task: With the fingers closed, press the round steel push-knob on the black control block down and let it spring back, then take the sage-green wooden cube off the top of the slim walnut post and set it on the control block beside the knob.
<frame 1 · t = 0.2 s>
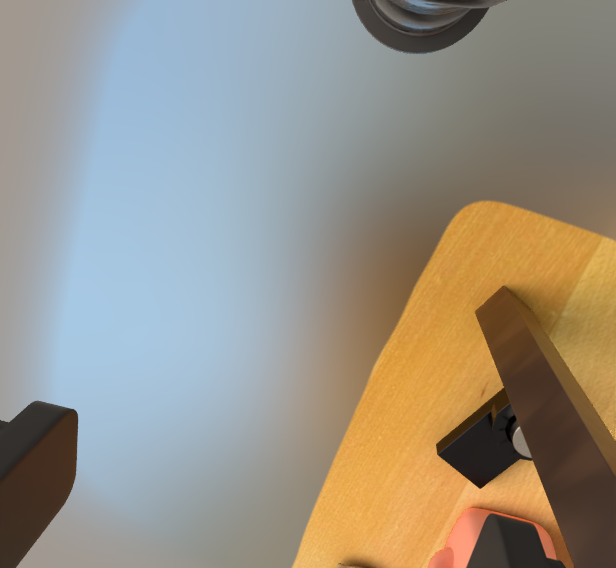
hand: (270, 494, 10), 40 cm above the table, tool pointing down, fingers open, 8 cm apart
teapot: (481, 542, 60), on the table
post: (502, 310, 50), on the table
knob: (533, 433, 50), point 4 cm above the table, slide at 0.1 cm
control block: (499, 426, 55), on the table
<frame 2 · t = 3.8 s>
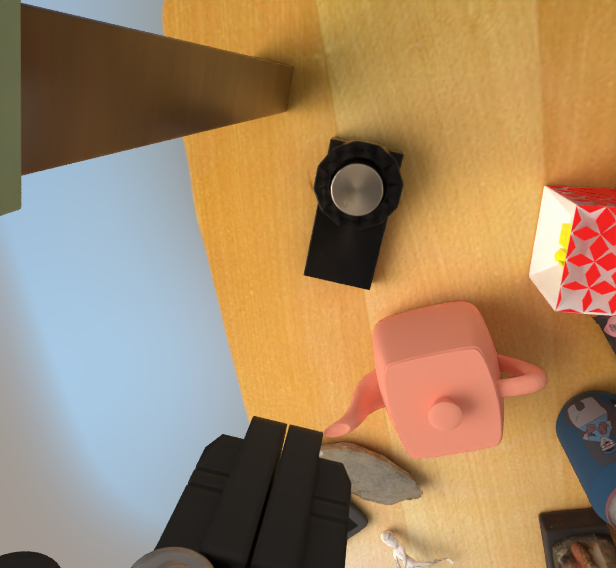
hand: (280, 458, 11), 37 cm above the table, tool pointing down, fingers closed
teapot: (425, 355, 51), on the table
sculpture: (574, 529, 55), on the table
cell phone: (302, 527, 60), on the table
post: (268, 85, 45), on the table
stone: (349, 490, 56), point 1 cm above the table
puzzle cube: (584, 234, 45), on the table
soda can: (590, 416, 51), on the table
knob: (357, 187, 42), point 4 cm above the table, slide at 0.1 cm
control block: (352, 213, 47), on the table
chocolate bar: (613, 362, 48), on the table
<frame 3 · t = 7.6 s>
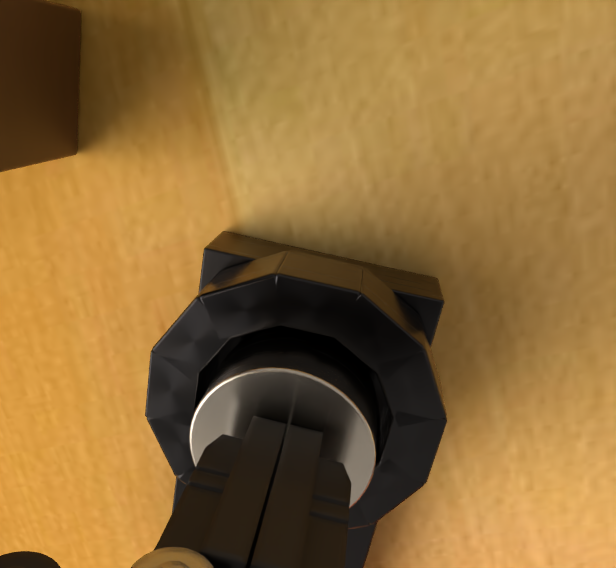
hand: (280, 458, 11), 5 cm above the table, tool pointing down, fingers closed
post: (14, 72, 14), on the table
knob: (288, 424, 12), point 4 cm above the table, slide at -0.3 cm, touching gripper
control block: (291, 433, 17), on the table
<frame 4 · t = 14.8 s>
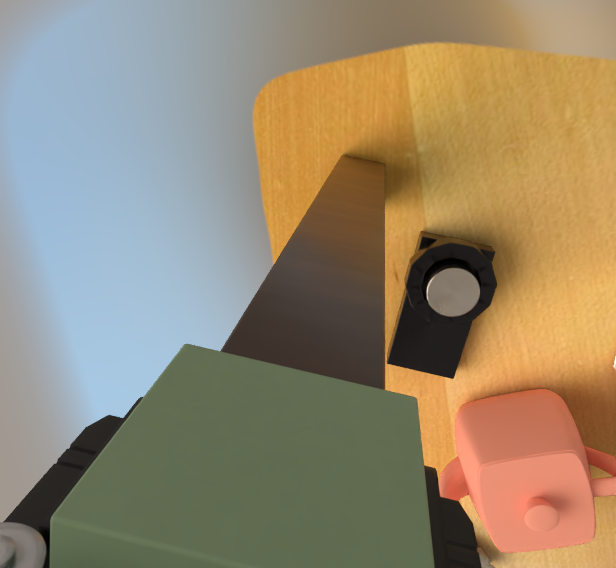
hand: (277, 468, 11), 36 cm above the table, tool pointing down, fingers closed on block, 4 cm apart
teapot: (503, 438, 51), on the table
post: (358, 180, 45), on the table
knob: (451, 288, 43), point 4 cm above the table, slide at 0.1 cm
control block: (436, 303, 47), on the table
block: (280, 463, 11), point 36 cm above the table, touching gripper, post
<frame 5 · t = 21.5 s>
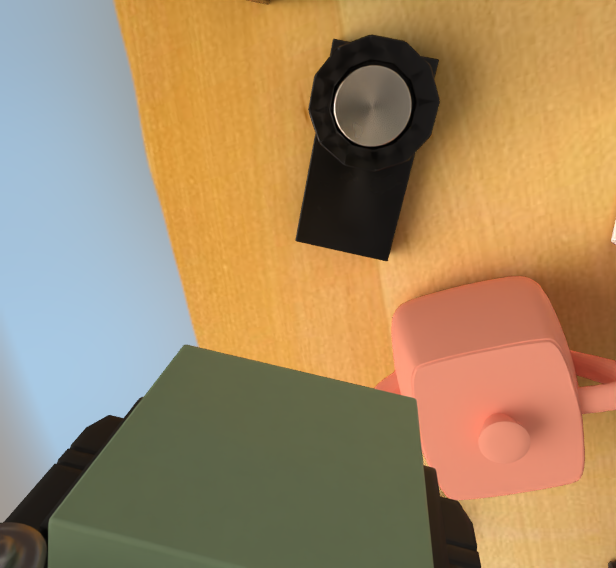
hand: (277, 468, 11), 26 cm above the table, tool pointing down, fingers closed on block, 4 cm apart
teapot: (461, 353, 38), on the table
knob: (372, 106, 29), point 4 cm above the table, slide at 0.1 cm
control block: (363, 153, 34), on the table
block: (279, 464, 11), point 26 cm above the table, touching gripper
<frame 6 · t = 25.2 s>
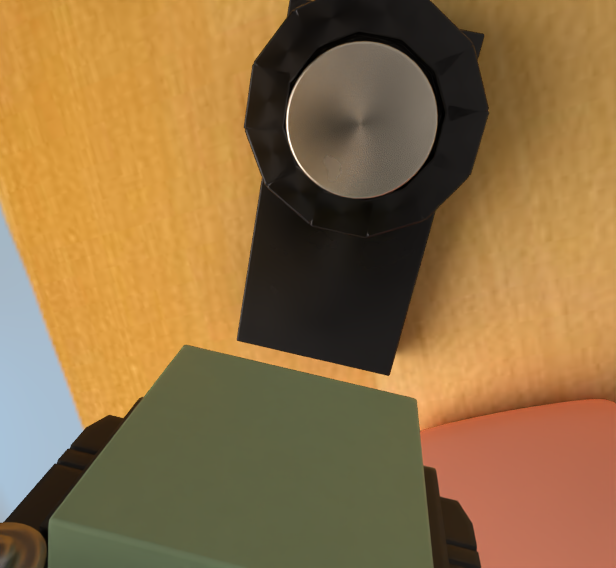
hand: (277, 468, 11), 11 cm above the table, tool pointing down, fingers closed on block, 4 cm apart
teapot: (505, 502, 24), on the table
knob: (361, 121, 15), point 4 cm above the table, slide at 0.1 cm
control block: (348, 197, 20), on the table
block: (279, 465, 11), point 11 cm above the table, touching gripper
when the fingers open (2 cm above the table, at t = 28.3 s): block stays where it is, resting on control block.
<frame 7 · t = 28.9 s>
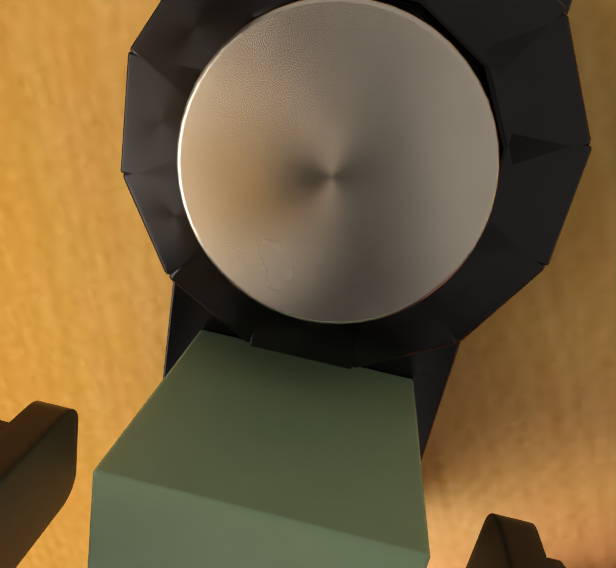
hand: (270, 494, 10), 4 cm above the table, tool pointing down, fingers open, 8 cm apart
knob: (338, 165, 8), point 4 cm above the table, slide at 0.1 cm
control block: (325, 271, 12), on the table
block: (287, 441, 12), point 2 cm above the table, touching control block
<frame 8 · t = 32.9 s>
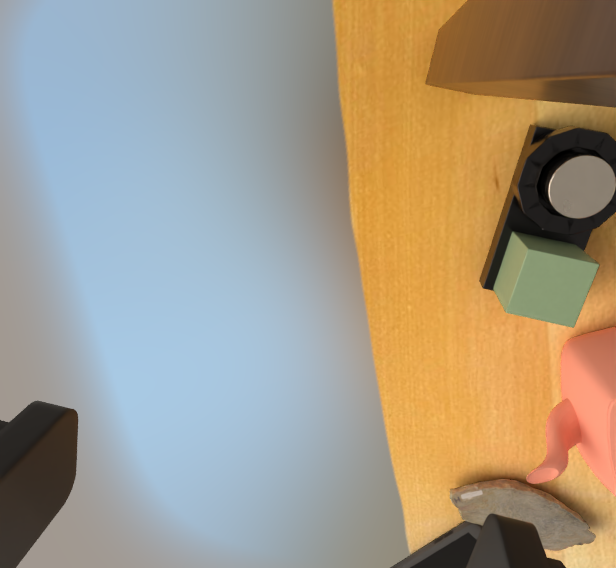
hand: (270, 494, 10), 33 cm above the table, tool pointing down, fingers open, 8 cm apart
teapot: (611, 380, 44), on the table
post: (457, 62, 37), on the table
stone: (506, 532, 49), point 1 cm above the table
knob: (576, 185, 35), point 4 cm above the table, slide at 0.1 cm
control block: (543, 215, 40), on the table
block: (533, 267, 40), point 2 cm above the table, touching control block
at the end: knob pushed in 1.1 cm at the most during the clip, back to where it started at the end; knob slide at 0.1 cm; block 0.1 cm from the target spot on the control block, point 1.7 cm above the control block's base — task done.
